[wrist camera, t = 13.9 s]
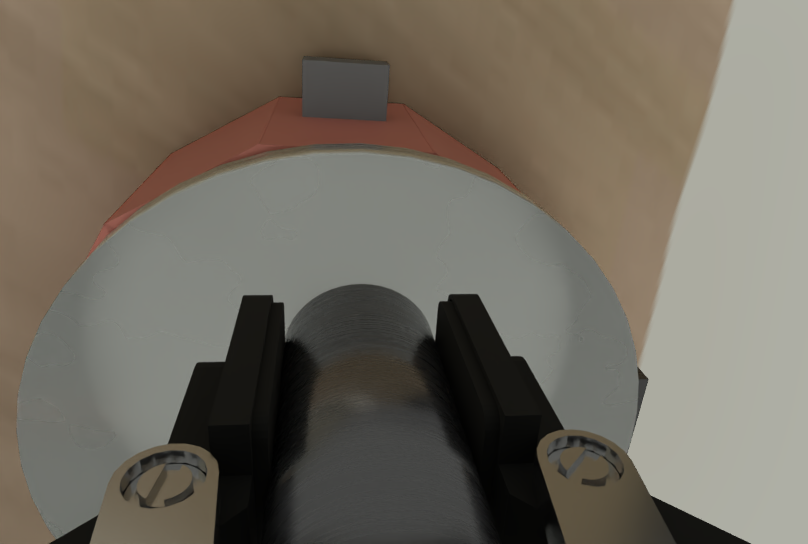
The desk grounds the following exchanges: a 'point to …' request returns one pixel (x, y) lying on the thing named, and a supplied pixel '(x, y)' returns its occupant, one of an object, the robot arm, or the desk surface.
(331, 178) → the lid
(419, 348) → the cylinder
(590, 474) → the robot arm
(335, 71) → the pot
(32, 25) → the desk surface
